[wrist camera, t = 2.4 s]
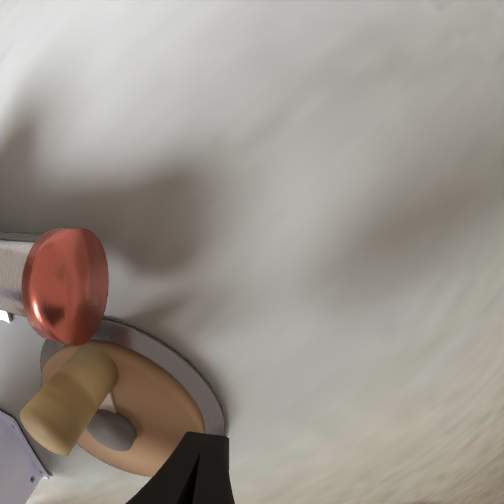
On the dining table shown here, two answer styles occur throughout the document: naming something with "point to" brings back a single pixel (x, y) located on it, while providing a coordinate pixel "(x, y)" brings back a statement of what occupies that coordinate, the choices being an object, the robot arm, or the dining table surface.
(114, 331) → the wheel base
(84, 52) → the dining table surface
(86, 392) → the handwheel
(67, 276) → the copper capped rod
